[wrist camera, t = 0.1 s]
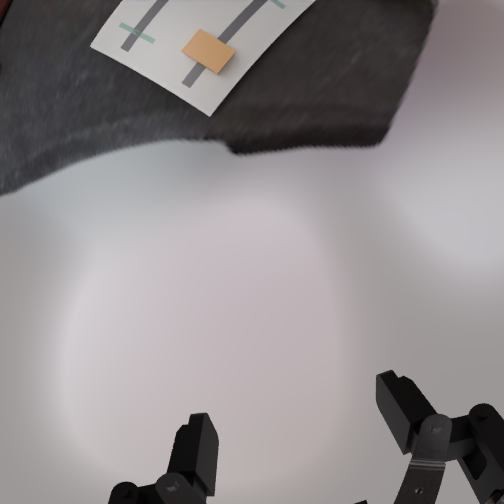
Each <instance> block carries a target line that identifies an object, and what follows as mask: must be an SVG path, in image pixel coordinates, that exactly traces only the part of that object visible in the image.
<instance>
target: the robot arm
mask: <svg viewBox="0 0 504 504" xmlns="http://www.w3.org/2000/svg"><path fill="white" fill-rule="evenodd" d="M376 402H377V406H378V408H379V410H380V412H381V414H382V415H383V417H384V419H385V421H386V423H387V425H388V427H389V429H390V430H391V432H392V434H393V436H394V438H395V440H396V442H397V444H398V446H399V447H400V449H401V451H402V453H403V455H405V454H407V453H410V452H411V454H412V458H411V461H410V464H409V466H408V469H407V472H406V474H405V477H404V480H403V482H402V485H401V487H400V490H399V492H398V495H397V497H396V500H395V502H394V504H435V501H436V498H437V495H438V492H439V489H440V485H441V482H442V478H443V474H444V470H445V465H446V464H445V462H447V461H451V460H456V459H457V461H458V462H459V464H460V466H461V468H462V470H463V472H464V473H465V475H466V477H467V479H468V481H469V483H470V485H471V487H472V489H473V491H474V493H475V495H476V496H477V499H478V501H479V503H480V504H504V420H503V418H502V417H501V416H500V415H499V413H498V412H497V411H496V410H495V408H494V407H493V406H491V405H489V404H485V403H484V404H483V403H482V404H478V405H476V406H474V407H473V408H472V409H471V410H470V412H469V415H465V416H461V417H457V418H449V417H447V416H446V415H443V414H438V413H437V412H436V411H435V410H434V408H433V407H432V406H431V404H430V403H429V402H428V400H427V399H426V398H425V396H424V395H423V394H422V392H421V391H420V390H419V388H417V386H416V384H415V383H414V382H413V381H412V380H411V379H409V378H407V377H405V376H402V377H399V378H398V377H397V375H396V374H395V373H394V371H393V370H389V371H386V372H383V373H381V374H378V375H377V377H376ZM174 441H175V442H174V445H173V449H172V453H171V457H170V461H169V465H168V469H167V473H166V474H164V475H162V476H161V477H160V478H159V479H158V480H157V482H156V483H155V484H151V485H147V486H142V487H137V486H136V485H135V484H134V483H132V482H121V483H119V484H117V485H116V486H115V487H114V488H113V490H112V492H111V495H110V498H109V502H108V504H206V497H207V496H214V494H215V481H216V469H217V458H218V446H219V440H218V435H217V432H216V430H215V428H214V426H213V424H212V422H211V420H210V417H209V415H208V414H207V413H198V414H191V415H190V418H189V423H188V425H182V426H181V427H180V429H179V430H178V431H177V432H176V436H175V440H174ZM355 504H367V501H366V500H364V501H361V502H358V503H355Z"/></svg>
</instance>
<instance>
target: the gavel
mask: <svg viewBox="0 0 504 504" xmlns="http://www.w3.org/2000/svg"><path fill="white" fill-rule="evenodd" d="M10 2H11V0H0V22H1V20H2V18H3V16H4V14H5V12H6V10H7V8H8V6H9V4H10Z"/></svg>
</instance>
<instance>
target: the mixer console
mask: <svg viewBox="0 0 504 504" xmlns="http://www.w3.org/2000/svg"><path fill="white" fill-rule="evenodd" d="M314 1H315V0H123V1H122V2H121V3H120V4H119V6H118V7H117V8H116V10H115V11H114V12H113V14H112V15H111V16H110V18H109V19H108V20H107V22H106V23H105V25H104V26H103V27H102V29H101V30H100V32H99V33H98V35H97V36H96V38H95V39H94V41H93V42H92V44H91V45H90V47H92V48H94V49H96V50H98V51H100V52H102V53H103V54H105V55H107V56H109V57H111V58H113V59H115V60H117V61H119V62H120V63H122V64H124V65H126V66H128V67H130V68H131V69H133V70H135V71H137V72H138V73H140V74H142V75H144V76H145V77H147V78H149V79H151V80H152V81H154V82H156V83H157V84H159V85H161V86H162V87H164V88H166V89H167V90H169V91H171V92H172V93H174V94H175V95H177V96H179V97H180V98H182V99H183V100H185V101H187V102H188V103H190V104H191V105H193V106H194V107H196V108H197V109H199V110H200V111H202V112H203V113H205V114H207V115H208V116H211V115H212V113H213V112H214V111H215V109H216V108H217V107H218V106H219V104H220V103H221V102H222V101H223V99H224V98H225V97H226V96H227V94H228V93H229V92H230V91H231V89H232V88H233V87H234V86H235V85H236V83H237V82H238V81H239V80H240V79H241V77H242V76H243V75H244V74H245V73H246V72H247V70H248V69H249V68H250V67H251V66H252V65H253V64H254V62H255V61H256V60H257V59H258V58H259V57H260V56H261V55H262V53H263V52H264V51H265V50H266V49H267V48H268V47H269V46H270V45H271V44H272V43H273V42H274V41H275V40H276V38H277V37H278V36H279V35H280V34H281V33H282V32H283V31H284V30H285V29H286V28H287V27H288V26H289V25H290V24H291V23H292V22H293V21H294V20H295V19H296V18H297V17H298V16H299V15H300V14H301V13H302V12H304V11H305V10H306V9H307V8H308V7H309V6H310V5H311V4H312V3H313V2H314ZM199 29H202V30H203V31H205V32H207V33H208V34H210V35H212V36H213V37H215V38H217V39H218V40H220V41H221V42H223V43H224V44H226V45H227V46H229V47H230V48H232V49H233V50H235V51H236V53H235V55H234V56H233V57H232V58H231V60H230V61H229V62H228V63H227V64H226V65H225V67H224V68H223V69H222V70H221V71H220V73H219V74H218V75H217V74H215V73H214V72H212V71H211V70H209V69H208V68H206V67H204V66H203V65H201V64H200V63H198V62H197V61H195V60H193V59H192V58H190V57H188V56H187V55H185V54H184V53H183V52H181V51H182V49H183V48H184V47H185V46H186V44H187V43H188V42H189V41H190V40H191V38H192V37H193V36H194V35H195V34H196V32H197V31H198V30H199Z"/></svg>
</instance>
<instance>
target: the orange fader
mask: <svg viewBox="0 0 504 504" xmlns="http://www.w3.org/2000/svg"><path fill="white" fill-rule="evenodd" d="M181 52H183V53H184V54H185V55H187V56H188V57H190V58H192V59H193V60H195V61H197V62H198V63H200V64H201V65H203V66H204V67H206V68H208V69H209V70H211V71H212V72H214V73H215V74H217V75H218V74H219V73H220V71H221V70H222V69H223V68H224V67H225V65H226V64H227V63H228V62H229V61H230V60H231V58H232V57H233V56H234V55H235V53H236V51H235V50H233V49H232V48H230V47H229V46H227V45H226V44H224V43H223V42H221V41H220V40H218V39H217V38H215V37H213V36H212V35H210V34H208V33H207V32H205V31H203V30H202V29H199V30H198V31H197V32H196V34H195V35H194V36H193V37H192V38H191V40H190V41H189V42H188V43H187V44H186V46H185V47H184V48H183V49H182V51H181Z"/></svg>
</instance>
